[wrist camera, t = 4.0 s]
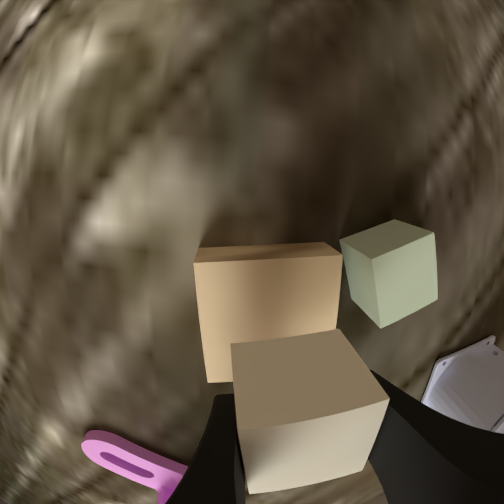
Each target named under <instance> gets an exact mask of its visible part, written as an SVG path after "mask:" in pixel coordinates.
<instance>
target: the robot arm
mask: <svg viewBox="0 0 504 504" xmlns="http://www.w3.org/2000/svg"><path fill="white" fill-rule="evenodd" d="M494 341H495V336H494V335H492V336H490V337H488V338H486V339H484V340H482V341H480V342H477V343H475V344H473V345H471V346H469V347H467V348H464V349H462V350H460V351H457V352H455V353H453V354H450V355H448V356H446V357H443V358H441V359H439V360H437V361H436V363H435V365H434V368H433V371H432V374H431V377H430V380H429V382H428V385H427V388H426V390H425V393H424V395H423V398H422V400H421V402H419V401H418V400H416V399H414V398H413V397H411V396H410V395H408V394H407V393H405V392H403V391H402V390H400V389H399V388H397V387H396V386H394V385H393V384H391V383H390V382H388V381H387V380H386V379H384V378H383V377H381V376H380V375H378V374H377V373H375V372H374V371H372V370H370V372H371V373H372V374H373V376H374V377H375V378H376V380H377V381H378V383H379V384H380V385H381V387H382V388H383V390H384V391H385V392H386V394H387V395H388V397H389V398H390V400H389V403H388V406H387V409H386V412H385V415H384V418H383V421H382V423H381V426H380V429H379V431H378V434H377V437H376V439H375V442H374V444H373V447H372V449H371V451H370V454H369V456H368V459H369V461H370V463H371V465H372V467H373V469H374V471H375V473H376V474H377V476H378V478H379V480H380V483H381V485H382V487H383V490H384V493H385V495H386V498H387V501H388V504H504V352H503V351H502V350H500V349H499V348H498V347H497V346H495V345H494ZM165 504H245V469H244V464H243V458H242V453H241V447H240V442H239V436H238V430H237V419H236V408H235V397H234V394H221V395H216V396H215V397H214V402H213V406H212V410H211V414H210V417H209V420H208V423H207V426H206V429H205V431H204V434H203V436H202V439H201V441H200V444H199V446H198V448H197V450H196V452H195V454H194V456H193V458H192V460H191V462H190V464H189V466H188V468H187V470H186V472H185V474H184V475H183V477H182V479H181V481H180V482H179V484H178V485H177V487H176V488H175V490H174V492H173V493H172V495H171V496H170V497H169V499H168V500H167V501H166V503H165Z"/></svg>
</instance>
